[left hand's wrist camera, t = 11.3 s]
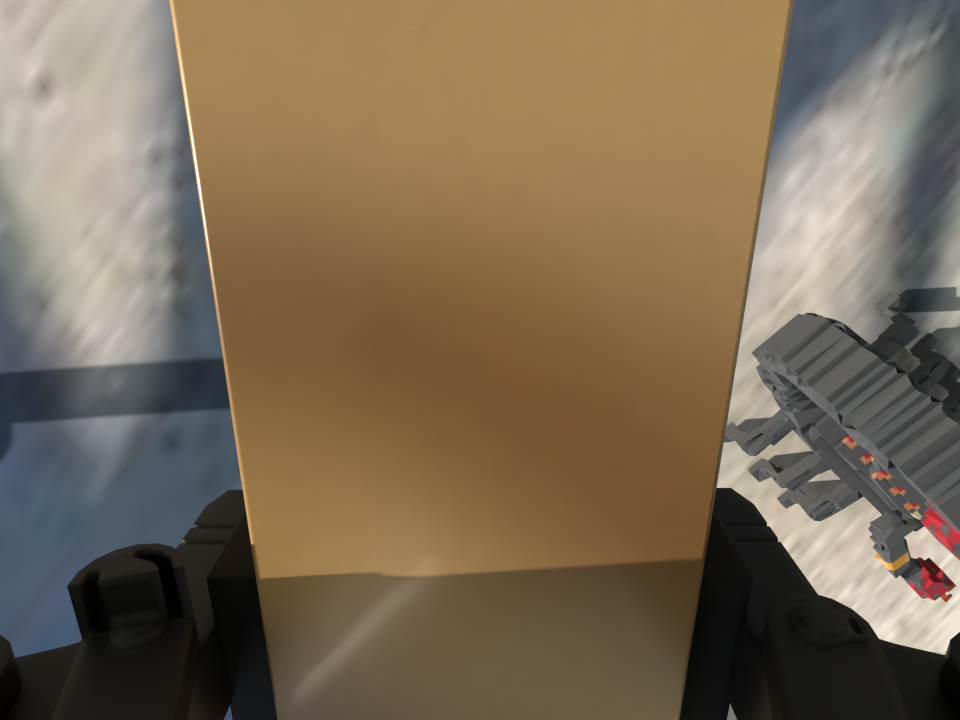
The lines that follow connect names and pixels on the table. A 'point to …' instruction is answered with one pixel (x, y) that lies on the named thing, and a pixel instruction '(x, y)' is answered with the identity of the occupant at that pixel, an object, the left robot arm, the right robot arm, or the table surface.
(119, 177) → the table surface
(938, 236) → the table surface
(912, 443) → the toy
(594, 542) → the board
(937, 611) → the table surface
